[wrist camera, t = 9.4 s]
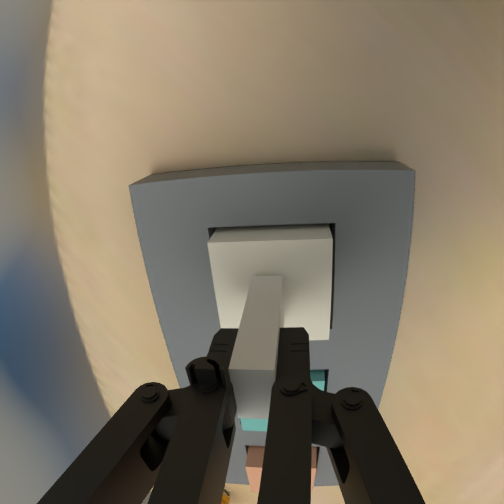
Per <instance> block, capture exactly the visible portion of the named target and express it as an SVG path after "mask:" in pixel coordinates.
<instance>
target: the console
mask: <svg viewBox="0 0 504 504" xmlns="http://www.w3.org/2000/svg"><path fill="white" fill-rule="evenodd" d="M129 190H130V195H131V201H132V206H133V212H134V217H135V222H136V227H137V232H138V236H139V241H140V246H141V250H142V255H143V259H144V263H145V268H146V272H147V276H148V280H149V284H150V288H151V292H152V296H153V300H154V303H155V307H156V311H157V314H158V318H159V322H160V325H161V329H162V332H163V335H164V339H165V342H166V346H167V349H168V352H169V355H170V359H171V362H172V365H173V368H174V371H175V374H176V377H177V380H178V383H179V386H180V388H185V387H187V386H190V383H189V379H188V376H187V373H186V369H185V367H186V366H187V364H188V363H189V362H191V361H192V360H194V359H196V358H199V357H206V356H207V354H208V352H209V348H210V345H211V342H212V339H213V337H214V335H215V334H216V333H217V332H218V331H219V330H220V329H221V326H220V320H219V314H218V308H217V302H216V296H215V290H214V284H213V277H212V271H211V264H210V258H209V251H208V244H207V242H208V241H209V239H210V238H211V236H212V235H213V233H214V232H215V230H216V229H217V227H234V226H258V225H285V224H316V223H330V231H331V235H332V238H333V249H332V289H331V313H330V331H329V340H309V350H310V370H320V369H325V370H324V376H325V384H324V391H325V392H329V393H334V394H336V393H337V392H338V391H339V390H341V389H344V388H347V387H357V388H361V389H363V390H365V391H367V392H368V394H369V395H370V396H371V397H372V399H373V401H374V403H375V405H376V407H377V409H378V407H379V404H380V401H381V397H382V393H383V390H384V386H385V382H386V378H387V374H388V370H389V366H390V362H391V358H392V353H393V349H394V344H395V340H396V335H397V330H398V325H399V320H400V314H401V309H402V303H403V297H404V290H405V284H406V277H407V269H408V262H409V253H410V244H411V234H412V222H413V209H414V191H415V170H413V169H411V168H409V167H407V166H405V165H403V164H401V163H399V162H379V161H336V162H298V163H276V164H258V165H243V166H230V167H218V168H207V169H197V170H187V171H178V172H169V173H161V174H153V175H149V176H147V177H145V178H143V179H141V180H139V181H137V182H135V183H133V184H130V185H129ZM235 425H236V431H235V436H234V442H233V447H232V452H231V457H230V462H229V467H228V472H227V476H226V481H225V483H234V484H246V485H250V484H249V480H248V476H247V472H246V468H245V465H246V460H247V454H248V448H249V445H251V446H265V442H266V434H267V431H246V430H242V425H241V420H240V418H238V416H237V411H236V416H235ZM316 446H317V455H316V474H315V480H314V486H333V485H339V483H338V480H337V478H336V475H335V472H334V469H333V466H332V463H331V460H330V457H329V454H328V451H327V448H326V447H324V446H320V445H316V444H312V447H316Z"/></svg>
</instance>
